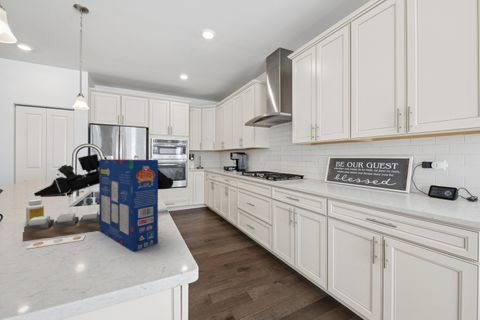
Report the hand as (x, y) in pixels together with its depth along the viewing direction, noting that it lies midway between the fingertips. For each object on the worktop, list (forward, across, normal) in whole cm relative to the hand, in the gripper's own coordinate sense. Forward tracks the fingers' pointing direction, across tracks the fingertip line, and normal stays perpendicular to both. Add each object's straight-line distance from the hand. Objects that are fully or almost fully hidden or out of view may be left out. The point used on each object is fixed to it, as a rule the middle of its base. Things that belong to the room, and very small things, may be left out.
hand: (37, 195), depth 77 cm
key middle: (-5, +5, +13) cm, 15 cm away
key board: (-4, +4, +17) cm, 18 cm away
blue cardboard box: (-20, +21, +26) cm, 39 cm away
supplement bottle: (+7, -20, +9) cm, 23 cm away
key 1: (+2, +4, +11) cm, 11 cm away
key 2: (-12, +6, +15) cm, 21 cm away
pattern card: (-2, +14, +19) cm, 23 cm away
